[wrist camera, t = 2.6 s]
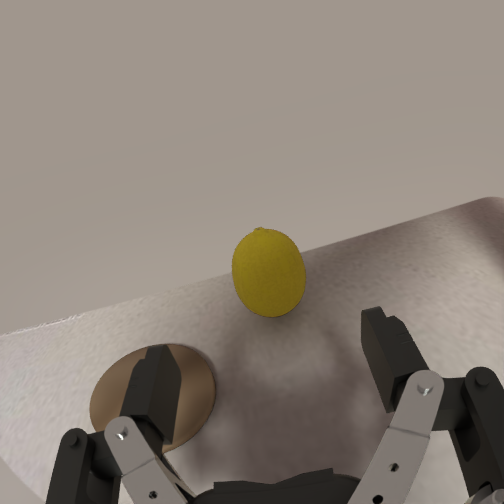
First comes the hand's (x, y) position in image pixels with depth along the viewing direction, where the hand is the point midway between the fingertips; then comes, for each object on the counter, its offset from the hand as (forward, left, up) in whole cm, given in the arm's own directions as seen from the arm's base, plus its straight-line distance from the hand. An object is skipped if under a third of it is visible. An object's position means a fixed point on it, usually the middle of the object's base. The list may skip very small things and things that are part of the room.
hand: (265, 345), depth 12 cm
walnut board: (+10, +3, -8) cm, 13 cm away
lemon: (+7, -9, -8) cm, 14 cm away
